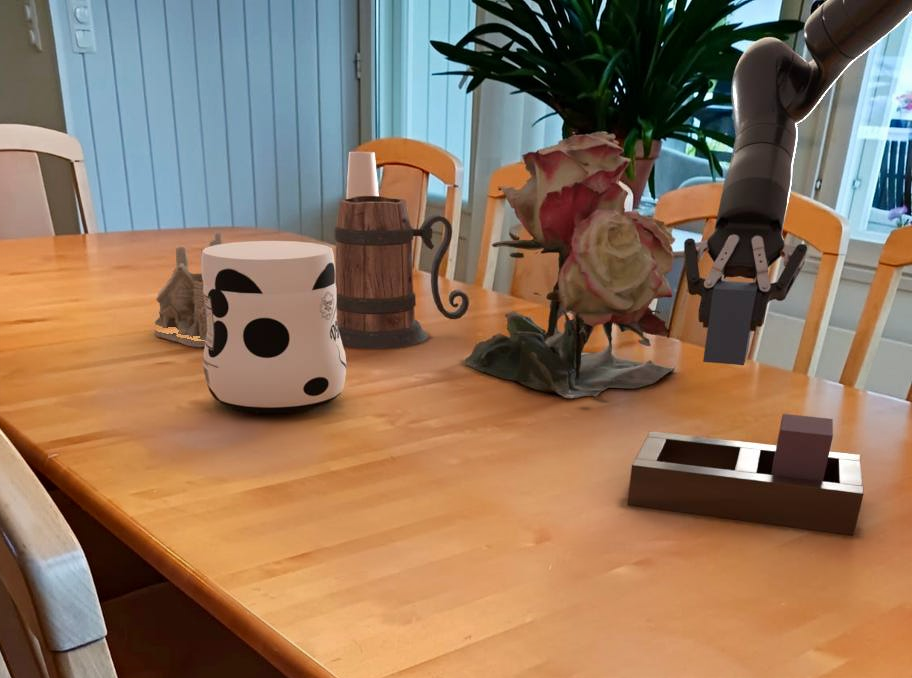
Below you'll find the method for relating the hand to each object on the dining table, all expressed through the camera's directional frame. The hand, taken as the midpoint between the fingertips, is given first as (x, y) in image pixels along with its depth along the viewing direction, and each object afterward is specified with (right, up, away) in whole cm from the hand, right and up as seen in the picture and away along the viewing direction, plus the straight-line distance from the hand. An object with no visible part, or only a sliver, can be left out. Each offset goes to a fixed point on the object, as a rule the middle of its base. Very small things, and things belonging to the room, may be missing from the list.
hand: (729, 324), depth 109 cm
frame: (-3, -22, -14) cm, 26 cm away
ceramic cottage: (-70, +13, +45) cm, 84 cm away
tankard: (-39, +13, +47) cm, 63 cm away
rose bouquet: (-12, +3, +29) cm, 31 cm away
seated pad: (+1, -22, -15) cm, 27 cm away
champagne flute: (-47, +34, +82) cm, 100 cm away
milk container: (-53, -6, +13) cm, 55 cm away
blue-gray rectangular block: (+1, -3, +4) cm, 5 cm away
